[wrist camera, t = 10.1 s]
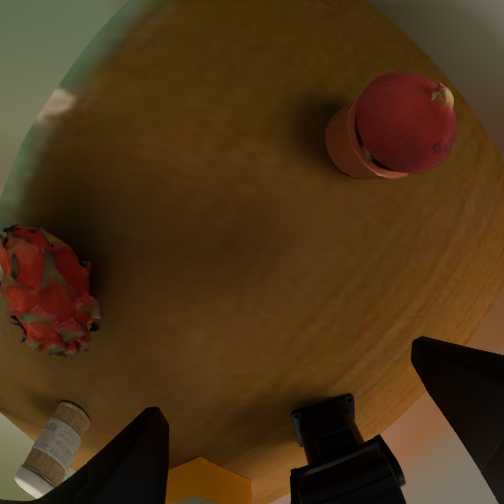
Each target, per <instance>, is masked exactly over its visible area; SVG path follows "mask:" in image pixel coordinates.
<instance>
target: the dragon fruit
mask: <svg viewBox="0 0 504 504" xmlns="http://www.w3.org/2000/svg"><path fill="white" fill-rule="evenodd" d="M36 226H37V228H36V227H33V228H31V227H25V226H23V225H14V226H11V227H10V228H5V229H4V230H3V231H4V232H6V233H7V232H8V233H7V237H5V238H3V237H2V235H0V263H1V266H2V268H3V270H4V279H3V280H1V281H0V292H1V293H2V294H4V295H5V297H6V299H7V300H8V301H9V303H10V306H9V308H8V310H7V316H8V318H9V321H10V323H11V324H13V325H18V326H20V327H21V329H22V331H21V336H20V342H23V341H25V339H27V345H28V346H29V347H30V348H31V349H32V350H35V351H36V350H38V352H40V351H42V349H44V350H45V351H46V352H48V353H49V354H50V355H53V354H54V355H55V356H62V357H66V358H69V359H72V357H74V356H76V355H77V354H78V353H79V351H80V347H79V346H83V347H84V349H85V351H86V350H87V351H88V349H89V346H90V344H91V336H90V333H89V332H91V331H93V332H95V331H97V330H99V329H100V325H99V321H98V319H101V318H103V313H102V304H101V303H99V302H98V301H97V300H95V298H93V297H92V296H90V287H89V274H90V271H91V269H92V264H91V263H90V262H89V261H87V262H86V261H81V262H82V266H80V264H79V262H78V258H77V255H76V254H75V253H74V251H73V249H72V248H71V247H69V246H68V245H67V244H66V243H64V242H63V241H62V240H60V239H59V238H58V237H56V236H54V235H53V234H51V233H49V232H46V231H45V230H44V229H43V228H42V227H41V226H40V225H38V224H37V225H36ZM90 323H91V324H92V327H91V328H90V331H89V332H88V330H87V328H86V326H87V325H88V324H90ZM85 351H84V352H85Z"/></svg>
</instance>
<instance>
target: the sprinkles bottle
mask: <svg viewBox="0 0 504 504" xmlns="http://www.w3.org/2000/svg"><path fill="white" fill-rule="evenodd" d="M89 427H90V420H89V418H88V416H87V415H86V414H85V412H84V411H83V410H81V409H80V408H79V407H77V406H76V405H74V404H72V403H69V402H62V403H60V404H59V406H58V409H57V410H56V412H55V413H54V415H53V417H52V418H51V419H50V420H49V421H48V423H47V424H46V426H45V427H44V429H43V431H42V432H41V434H40V435H39V437H38V438H37V440H36V442H35V443H34V445H33V447H32V450H31V452H30V453H29V455H28V457H27V459H26V460H25V462H24V464H23V465H21V467H19V469H18V471H17V473H16V475H15V477H14V478H15V481H16V482H17V483H18V485H19V486H20V487H22V488H23V489H24V490H25V491H26V492H28V493H29V494H30V495H32V496H33V497H35V498H36V499H38V498H40V497H42V496H43V495H45V494H46V493H48V492H49V491H51V490H52V489H54V488H55V487H57V486H58V485H60V484H61V483H62V481H63V479H64V476H65V475H66V473H67V471H68V469H69V467H70V465H71V463H72V461H73V459H74V457H75V454H76V452H77V450H78V448H79V446H80V444H81V441H82V438H83V437H84V434H85V432H86V431H87V429H88V428H89Z"/></svg>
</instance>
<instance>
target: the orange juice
mask: <svg viewBox="0 0 504 504" xmlns="http://www.w3.org/2000/svg"><path fill="white" fill-rule="evenodd" d="M165 504H252V495H251V482H250V480H249V479H247V478H244V477H242V476H240V475H237V474H235V473H233V472H231V471H229V470H227V469H224V468H222V467H220V466H218V465H216V464H214V463H212V462H210V461H208V460H206V459H204V458H203V457H201V456H200V457H198V458H196V459H194V460H191V461H189V462H187V463H184V464H182V465H179V466H177V467H174V468H172V469H169V470H168V480H167V490H166V501H165Z"/></svg>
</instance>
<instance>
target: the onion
mask: <svg viewBox="0 0 504 504" xmlns="http://www.w3.org/2000/svg"><path fill="white" fill-rule="evenodd" d="M453 101H454V97H453V95H452V94H451V92H450V90H449V89H448V88H447V87H445V86H444V85H442V83H440V84H438V86H437V85H436V84H435V83H433V82H431V81H430V80H428V79H426V78H424V77H422V76H419V75H415V74H411V73H408V72H394V73H390V74H387V75H383V76H380V77H378V78H376V79H375V80H373V81H372V82H371V83H370V84H369V85H368V87H367V88H366V89H365V90H364V92H363V93H362V94H361V96H360V97H359V101H358V106H357V111H356V116H357V123H358V131H359V134H360V136H361V138H362V141H363V143H364V145H365V147H366V149H367V150H368V151H369V152H370V153H371V154H372V156H373V157H374V158H375V159H376V160H377V161H378V162H379V163H381V164H383V165H384V166H386V167H388V168H390V169H392V170H394V171H396V172H402V173H410V174H414V173H422V172H424V171H427V170H429V169H431V168H433V167H435V166H437V165H439V164H441V163H442V162H443V161H444V160H445V159H446V157H447V155H448V154H449V152H450V150H451V148H452V146H453V144H454V142H455V140H456V135H457V125H456V113H455V110H454V106H453Z"/></svg>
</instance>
